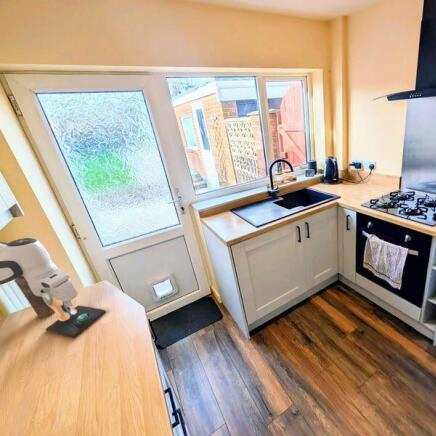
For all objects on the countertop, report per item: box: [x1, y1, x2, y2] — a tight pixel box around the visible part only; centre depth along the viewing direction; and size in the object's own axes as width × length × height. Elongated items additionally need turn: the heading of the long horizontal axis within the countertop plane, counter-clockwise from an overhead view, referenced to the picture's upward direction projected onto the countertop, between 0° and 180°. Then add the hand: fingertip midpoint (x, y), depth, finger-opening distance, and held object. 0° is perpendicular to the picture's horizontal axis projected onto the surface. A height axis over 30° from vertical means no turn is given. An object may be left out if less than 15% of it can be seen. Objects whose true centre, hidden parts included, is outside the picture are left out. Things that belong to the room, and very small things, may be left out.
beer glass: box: [39, 290, 78, 321], centre depth 98 cm, size 7×7×15 cm
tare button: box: [78, 313, 88, 322], centre depth 99 cm, size 3×3×2 cm
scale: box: [44, 305, 106, 339], centre depth 101 cm, size 16×13×3 cm
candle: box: [14, 276, 55, 318], centre depth 105 cm, size 8×7×20 cm
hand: (62, 304), depth 99 cm, fingers closed on beer glass, 6 cm apart
